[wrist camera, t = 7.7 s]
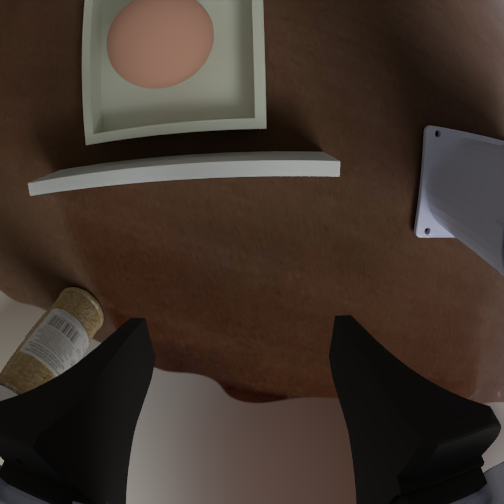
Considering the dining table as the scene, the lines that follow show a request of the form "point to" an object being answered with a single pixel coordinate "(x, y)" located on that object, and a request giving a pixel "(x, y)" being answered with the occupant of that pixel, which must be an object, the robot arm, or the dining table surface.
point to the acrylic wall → (189, 169)
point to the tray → (185, 93)
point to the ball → (160, 41)
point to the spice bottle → (53, 343)
